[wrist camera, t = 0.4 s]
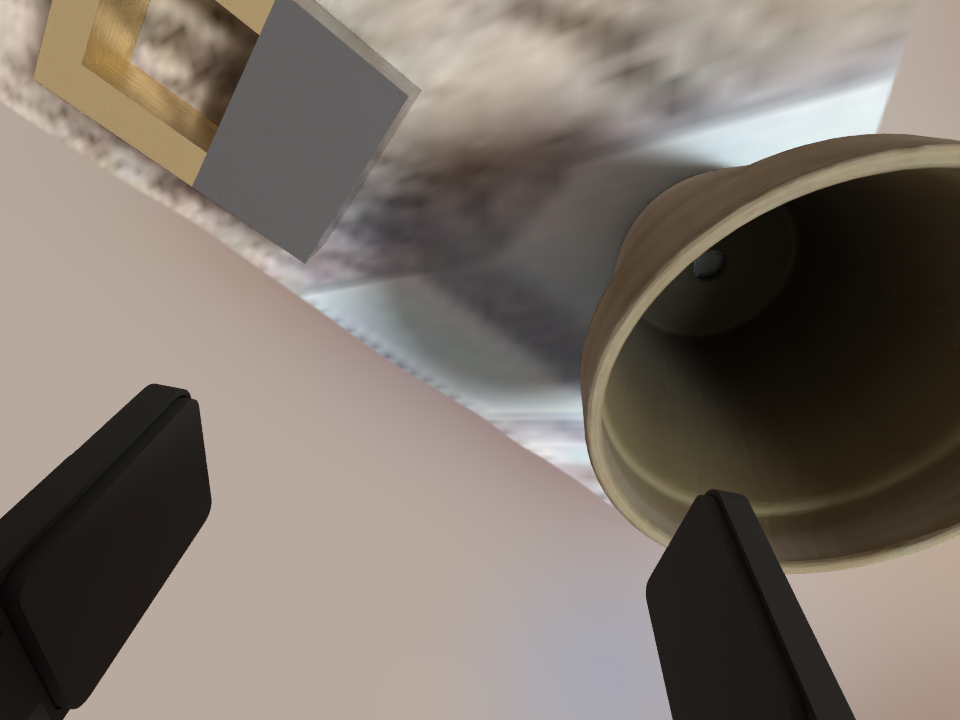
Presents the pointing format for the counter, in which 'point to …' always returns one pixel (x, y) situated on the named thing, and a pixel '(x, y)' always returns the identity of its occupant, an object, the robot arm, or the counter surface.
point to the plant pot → (790, 352)
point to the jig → (242, 110)
